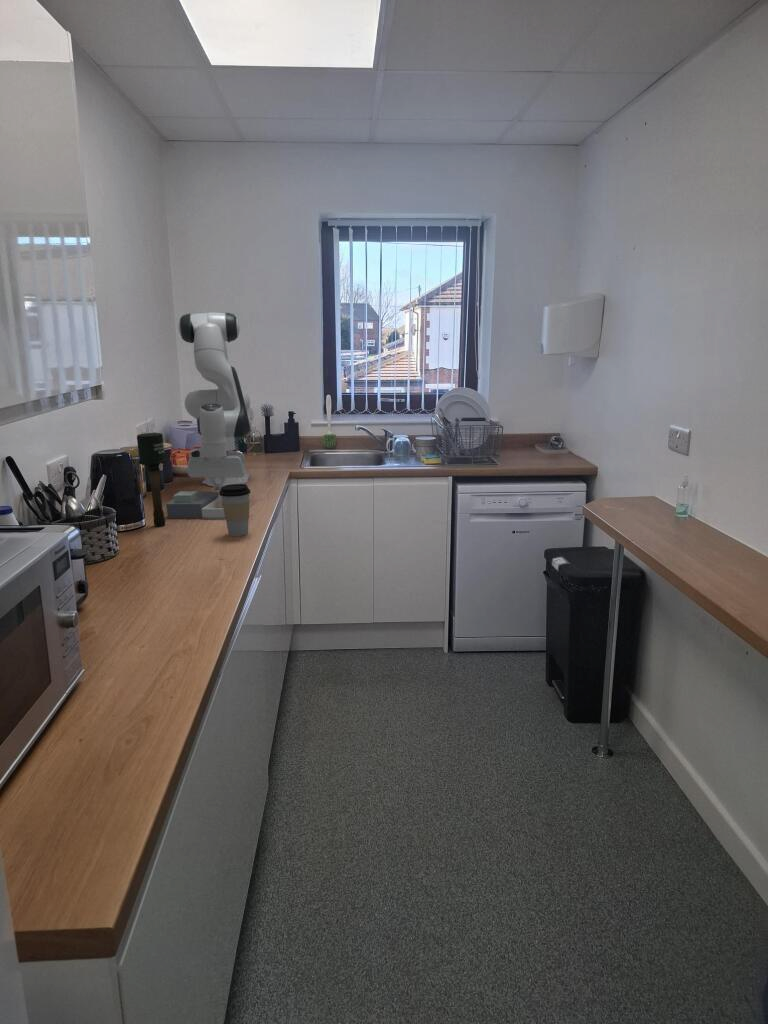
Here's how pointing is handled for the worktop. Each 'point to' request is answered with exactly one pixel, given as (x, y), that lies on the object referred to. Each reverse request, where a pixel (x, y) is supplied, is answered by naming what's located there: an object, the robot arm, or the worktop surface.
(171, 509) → the dark grey slab
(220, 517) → the box
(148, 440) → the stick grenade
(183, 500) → the tile
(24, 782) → the worktop surface
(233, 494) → the coffee cup
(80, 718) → the worktop surface
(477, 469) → the worktop surface
